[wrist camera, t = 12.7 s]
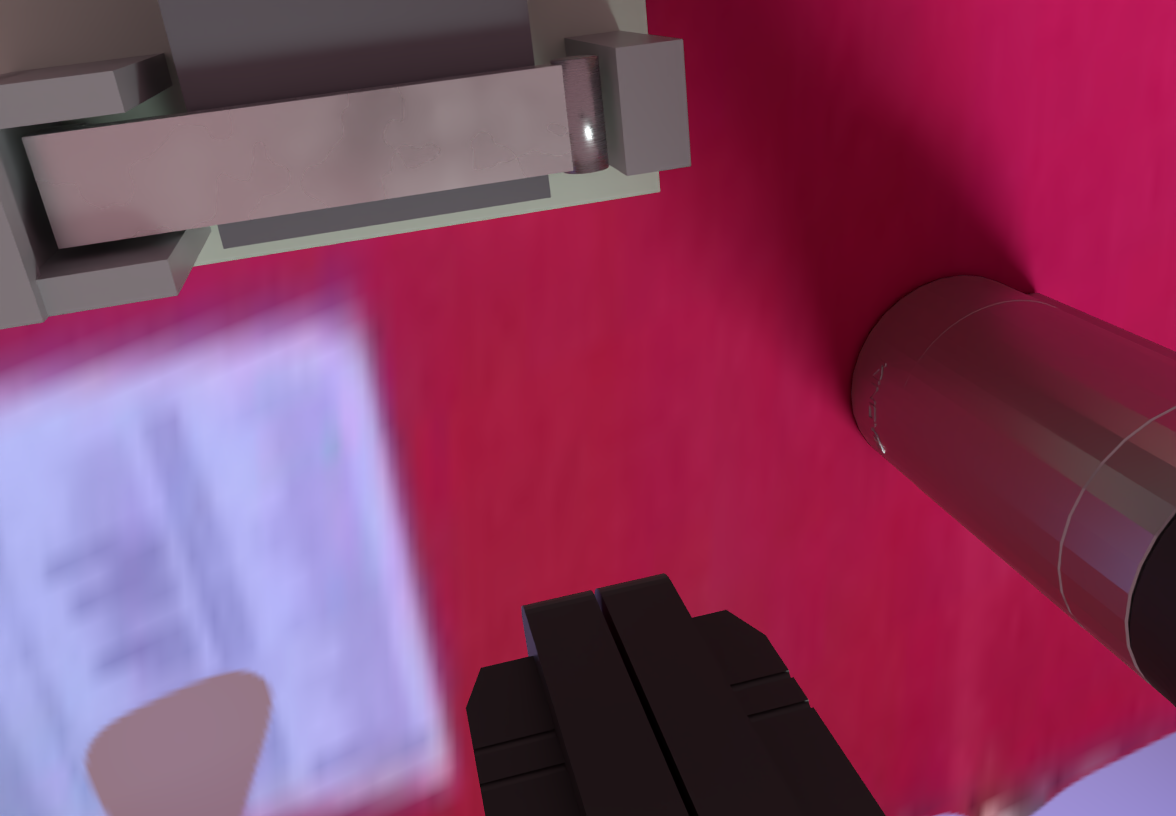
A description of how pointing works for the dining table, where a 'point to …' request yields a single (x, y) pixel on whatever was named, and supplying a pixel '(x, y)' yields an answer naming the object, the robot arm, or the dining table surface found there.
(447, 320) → the dining table surface
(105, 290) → the base
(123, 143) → the grey hinged latch bar
